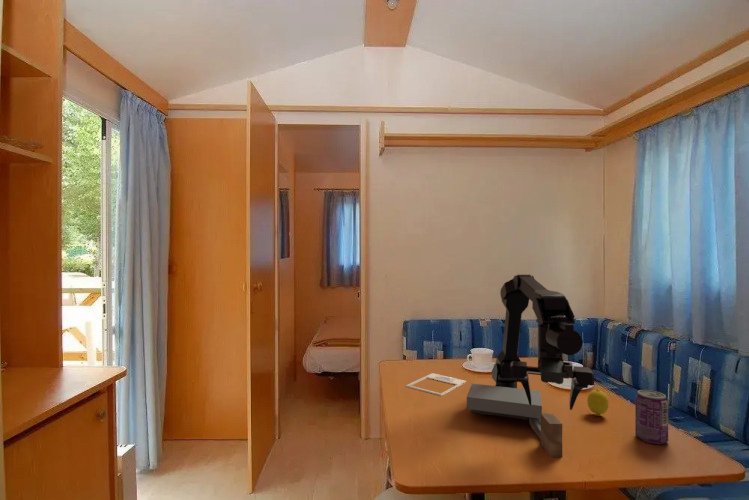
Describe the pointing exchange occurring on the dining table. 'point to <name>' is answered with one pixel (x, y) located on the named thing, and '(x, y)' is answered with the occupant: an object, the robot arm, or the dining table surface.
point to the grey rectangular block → (504, 401)
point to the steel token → (538, 421)
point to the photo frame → (439, 378)
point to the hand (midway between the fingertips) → (550, 406)
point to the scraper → (549, 433)
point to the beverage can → (651, 416)
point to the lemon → (598, 402)
